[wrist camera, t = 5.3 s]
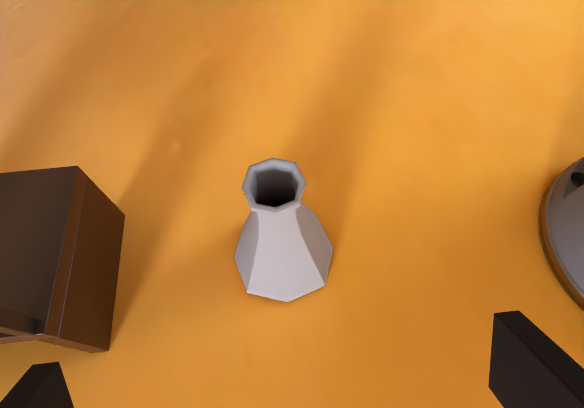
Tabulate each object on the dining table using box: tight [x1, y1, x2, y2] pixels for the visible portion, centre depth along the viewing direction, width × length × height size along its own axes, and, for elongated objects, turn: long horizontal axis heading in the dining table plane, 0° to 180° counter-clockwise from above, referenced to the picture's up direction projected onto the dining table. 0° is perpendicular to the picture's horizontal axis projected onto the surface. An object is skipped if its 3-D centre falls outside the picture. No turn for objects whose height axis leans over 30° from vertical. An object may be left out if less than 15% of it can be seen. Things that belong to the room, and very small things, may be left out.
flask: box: [234, 158, 333, 302], centre depth 23 cm, size 7×7×10 cm
